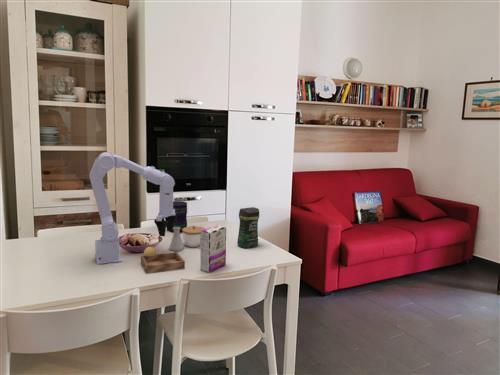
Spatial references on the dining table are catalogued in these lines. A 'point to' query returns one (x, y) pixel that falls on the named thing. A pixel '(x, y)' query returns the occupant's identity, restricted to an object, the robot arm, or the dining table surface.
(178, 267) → the tray
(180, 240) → the flask
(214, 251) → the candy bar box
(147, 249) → the ball
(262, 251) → the dining table surface
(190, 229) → the lidded jar
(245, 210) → the coffee jar
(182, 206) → the storage jar
